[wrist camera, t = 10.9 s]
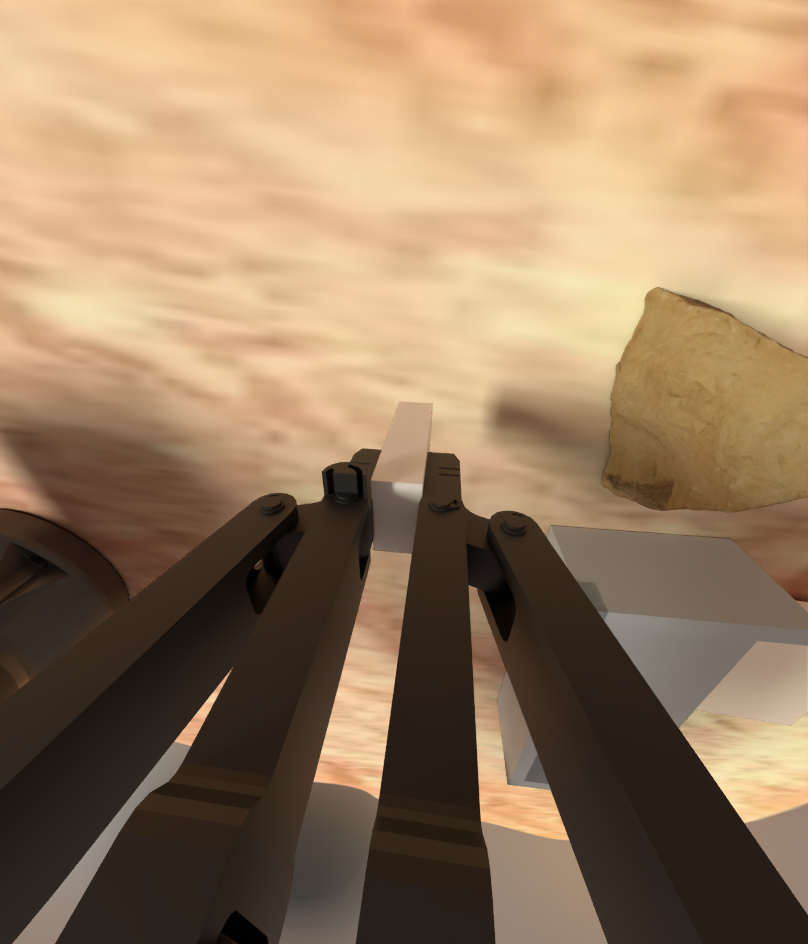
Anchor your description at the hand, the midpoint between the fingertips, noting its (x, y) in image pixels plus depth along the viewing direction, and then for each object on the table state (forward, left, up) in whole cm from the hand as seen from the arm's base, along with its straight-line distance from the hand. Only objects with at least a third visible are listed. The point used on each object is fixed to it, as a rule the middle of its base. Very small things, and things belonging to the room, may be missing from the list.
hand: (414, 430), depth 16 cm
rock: (+13, 0, -6) cm, 14 cm away
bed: (+16, -21, -5) cm, 27 cm away
